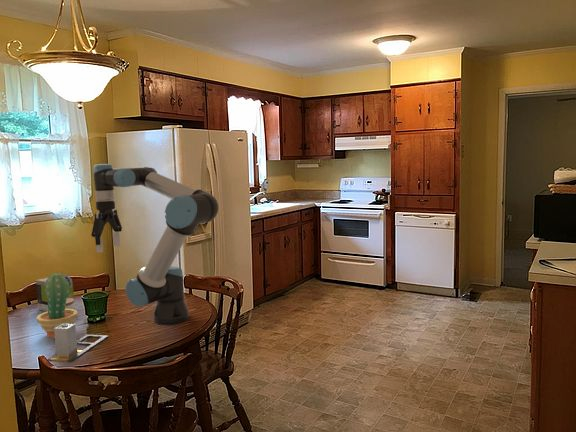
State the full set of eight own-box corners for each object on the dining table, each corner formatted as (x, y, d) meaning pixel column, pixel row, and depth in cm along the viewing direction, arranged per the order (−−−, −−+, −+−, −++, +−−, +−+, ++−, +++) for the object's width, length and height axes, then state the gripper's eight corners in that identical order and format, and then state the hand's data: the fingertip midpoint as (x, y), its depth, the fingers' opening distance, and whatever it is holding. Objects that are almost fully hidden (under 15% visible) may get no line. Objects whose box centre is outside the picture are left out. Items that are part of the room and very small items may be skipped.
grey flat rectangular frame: (108, 336, 194) (108, 335, 194) (71, 361, 171) (71, 360, 171) (86, 335, 196) (86, 334, 196) (47, 360, 173) (47, 359, 173)
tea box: (75, 308, 232) (73, 278, 230) (55, 314, 224) (53, 283, 222) (57, 304, 240) (54, 275, 238) (37, 310, 232) (34, 279, 230)
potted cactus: (82, 334, 197) (77, 274, 194) (40, 343, 189) (34, 280, 186) (75, 324, 210) (71, 267, 207) (35, 331, 202) (30, 273, 199)
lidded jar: (65, 322, 213) (63, 301, 212) (44, 321, 215) (42, 300, 214) (80, 314, 223) (79, 294, 222) (59, 313, 225) (58, 293, 224)
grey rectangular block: (77, 353, 178) (75, 323, 177) (69, 358, 173) (66, 328, 172) (65, 352, 179) (62, 322, 178) (56, 357, 174) (53, 327, 173)
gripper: (112, 197, 221) (115, 243, 223) (79, 203, 196) (83, 254, 199) (128, 197, 219) (130, 244, 222) (96, 203, 195) (100, 255, 198)
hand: (108, 249), depth 211 cm, fingers open, 13 cm apart
